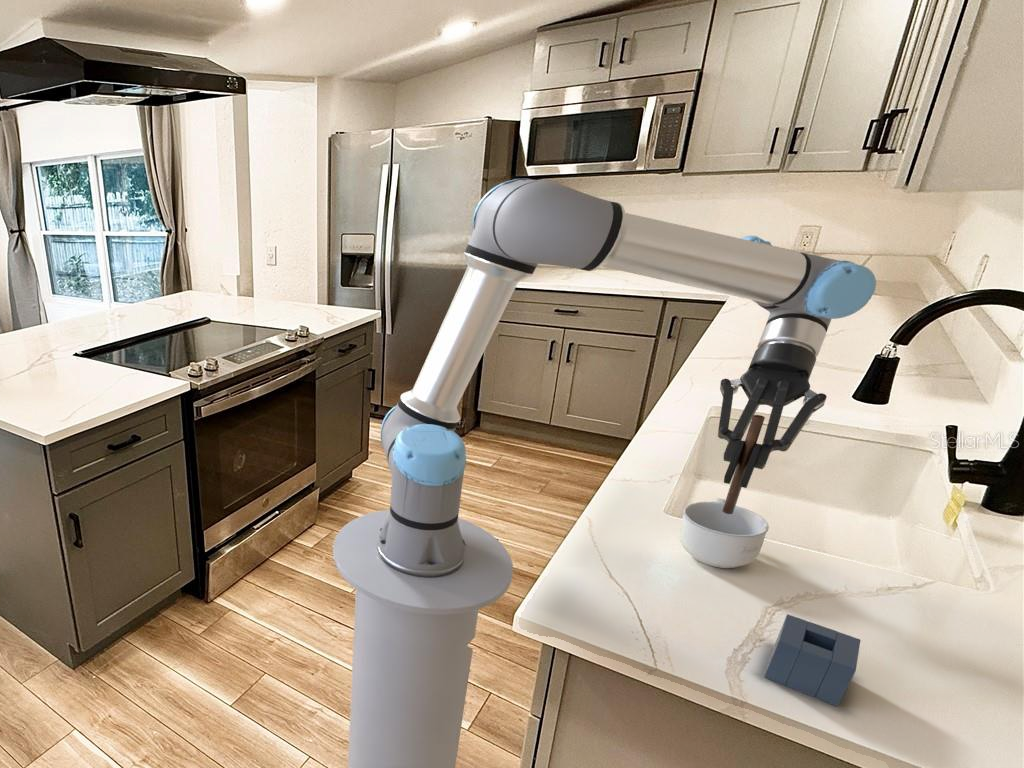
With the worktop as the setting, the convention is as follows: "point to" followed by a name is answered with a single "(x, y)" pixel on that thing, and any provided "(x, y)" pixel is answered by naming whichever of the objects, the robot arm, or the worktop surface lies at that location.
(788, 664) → the stand
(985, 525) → the worktop surface
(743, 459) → the stick
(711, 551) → the teacup
